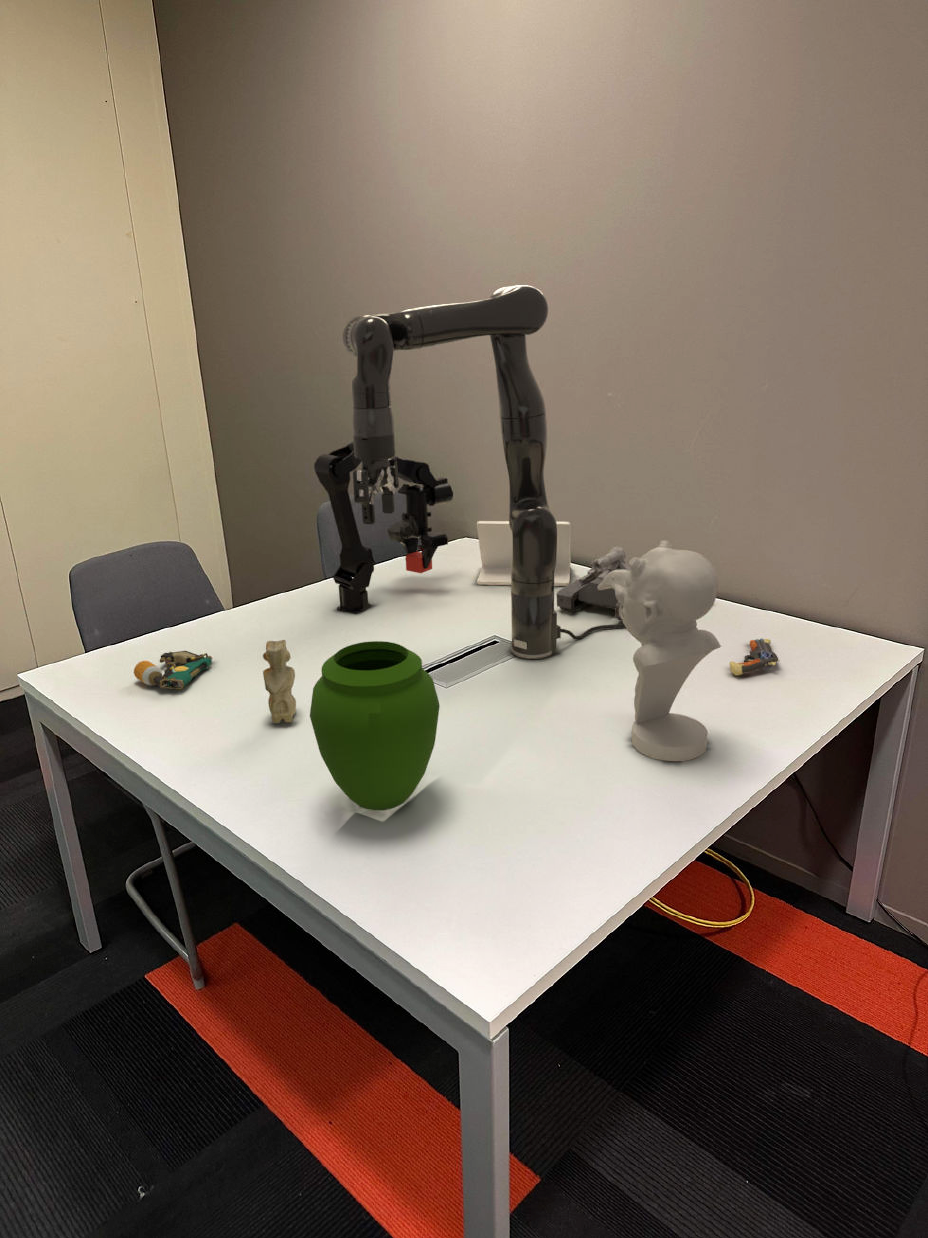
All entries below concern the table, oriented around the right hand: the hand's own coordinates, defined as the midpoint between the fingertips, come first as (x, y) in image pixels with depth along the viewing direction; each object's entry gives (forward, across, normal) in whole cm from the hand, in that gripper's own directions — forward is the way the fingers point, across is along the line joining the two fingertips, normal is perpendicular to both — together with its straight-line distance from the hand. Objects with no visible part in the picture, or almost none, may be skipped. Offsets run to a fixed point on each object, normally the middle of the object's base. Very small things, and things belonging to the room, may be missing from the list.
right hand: (379, 518), depth 162 cm
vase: (+35, +39, +17) cm, 55 cm away
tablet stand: (+35, -77, +6) cm, 84 cm away
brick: (+29, -58, -18) cm, 67 cm away
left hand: (+28, -58, -18) cm, 67 cm away
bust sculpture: (+35, +7, +53) cm, 64 cm away
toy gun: (+35, -33, +69) cm, 84 cm away
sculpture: (+35, +20, -13) cm, 42 cm away
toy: (+35, -59, +35) cm, 77 cm away
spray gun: (+35, +10, -45) cm, 58 cm away
